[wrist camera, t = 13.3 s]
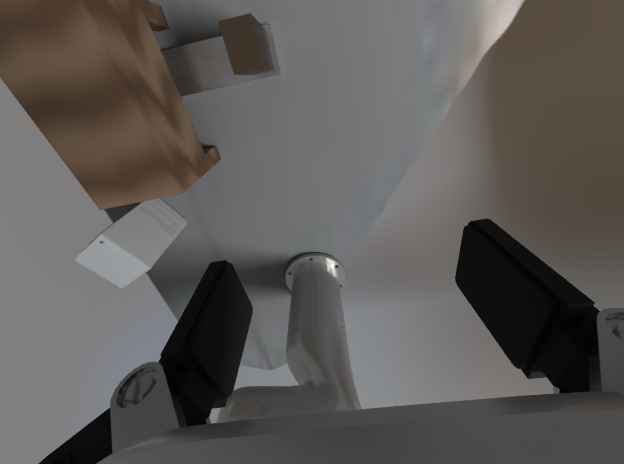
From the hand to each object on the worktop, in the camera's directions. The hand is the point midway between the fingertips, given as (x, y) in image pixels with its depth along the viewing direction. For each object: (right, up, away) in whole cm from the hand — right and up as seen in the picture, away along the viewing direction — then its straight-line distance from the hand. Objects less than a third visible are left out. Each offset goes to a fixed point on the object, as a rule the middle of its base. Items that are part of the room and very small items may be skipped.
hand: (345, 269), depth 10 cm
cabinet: (-22, +20, +23) cm, 38 cm away
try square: (-18, +23, +22) cm, 36 cm away
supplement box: (-29, +4, +34) cm, 44 cm away
